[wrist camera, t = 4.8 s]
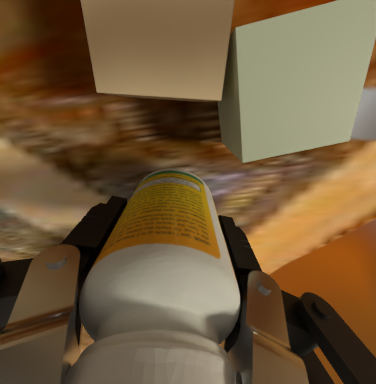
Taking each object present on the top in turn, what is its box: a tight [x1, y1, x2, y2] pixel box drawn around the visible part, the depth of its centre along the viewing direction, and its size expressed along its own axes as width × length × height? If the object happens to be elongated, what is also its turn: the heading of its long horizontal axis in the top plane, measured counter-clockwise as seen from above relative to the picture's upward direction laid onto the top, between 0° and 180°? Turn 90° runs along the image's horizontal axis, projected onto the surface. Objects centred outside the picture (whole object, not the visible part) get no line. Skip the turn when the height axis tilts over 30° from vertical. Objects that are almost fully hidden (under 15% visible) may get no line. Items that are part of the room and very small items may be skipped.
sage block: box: [217, 0, 376, 163], centre depth 9 cm, size 5×5×5 cm
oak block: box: [81, 0, 234, 102], centre depth 8 cm, size 5×5×5 cm
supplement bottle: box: [64, 168, 240, 384], centre depth 7 cm, size 5×5×10 cm
